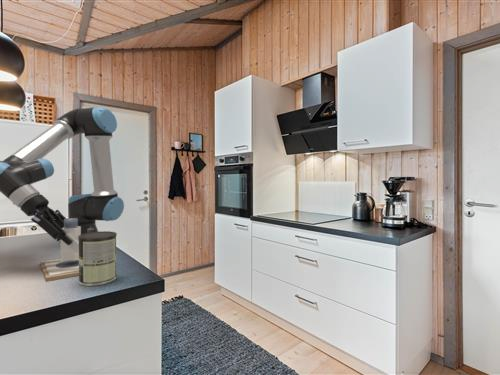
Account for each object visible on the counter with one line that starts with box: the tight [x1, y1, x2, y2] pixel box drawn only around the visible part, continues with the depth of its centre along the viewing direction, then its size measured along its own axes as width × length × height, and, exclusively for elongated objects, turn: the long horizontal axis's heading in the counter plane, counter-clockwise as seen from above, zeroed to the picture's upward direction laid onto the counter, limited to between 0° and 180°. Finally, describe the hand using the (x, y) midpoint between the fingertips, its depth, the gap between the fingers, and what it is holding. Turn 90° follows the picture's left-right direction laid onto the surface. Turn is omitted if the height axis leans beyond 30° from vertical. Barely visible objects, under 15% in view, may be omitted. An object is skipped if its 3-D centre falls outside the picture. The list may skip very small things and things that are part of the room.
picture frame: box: [39, 258, 79, 282], centre depth 98 cm, size 22×16×1 cm
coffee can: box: [78, 230, 117, 287], centre depth 86 cm, size 10×10×14 cm
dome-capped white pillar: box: [60, 217, 81, 261], centre depth 98 cm, size 4×4×14 cm
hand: (82, 247), depth 98 cm, fingers closed on dome-capped white pillar, 4 cm apart
